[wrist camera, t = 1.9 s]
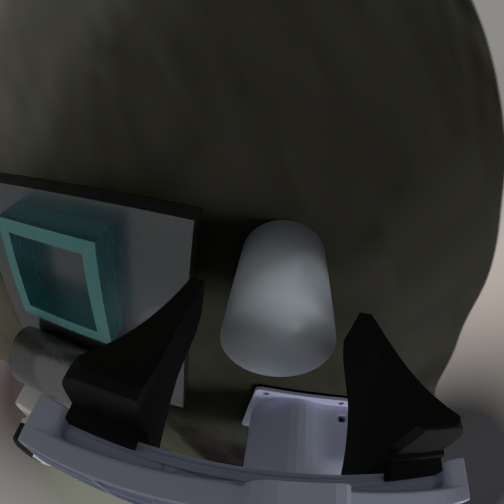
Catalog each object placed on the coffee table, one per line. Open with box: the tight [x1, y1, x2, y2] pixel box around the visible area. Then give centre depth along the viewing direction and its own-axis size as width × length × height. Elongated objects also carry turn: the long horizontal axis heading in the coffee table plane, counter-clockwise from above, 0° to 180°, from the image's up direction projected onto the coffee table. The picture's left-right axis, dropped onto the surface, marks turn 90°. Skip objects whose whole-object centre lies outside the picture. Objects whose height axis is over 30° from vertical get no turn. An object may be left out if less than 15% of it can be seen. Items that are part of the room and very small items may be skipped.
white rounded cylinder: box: [220, 220, 336, 377], centre depth 15 cm, size 5×5×6 cm
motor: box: [0, 173, 202, 408], centre depth 19 cm, size 18×20×7 cm
